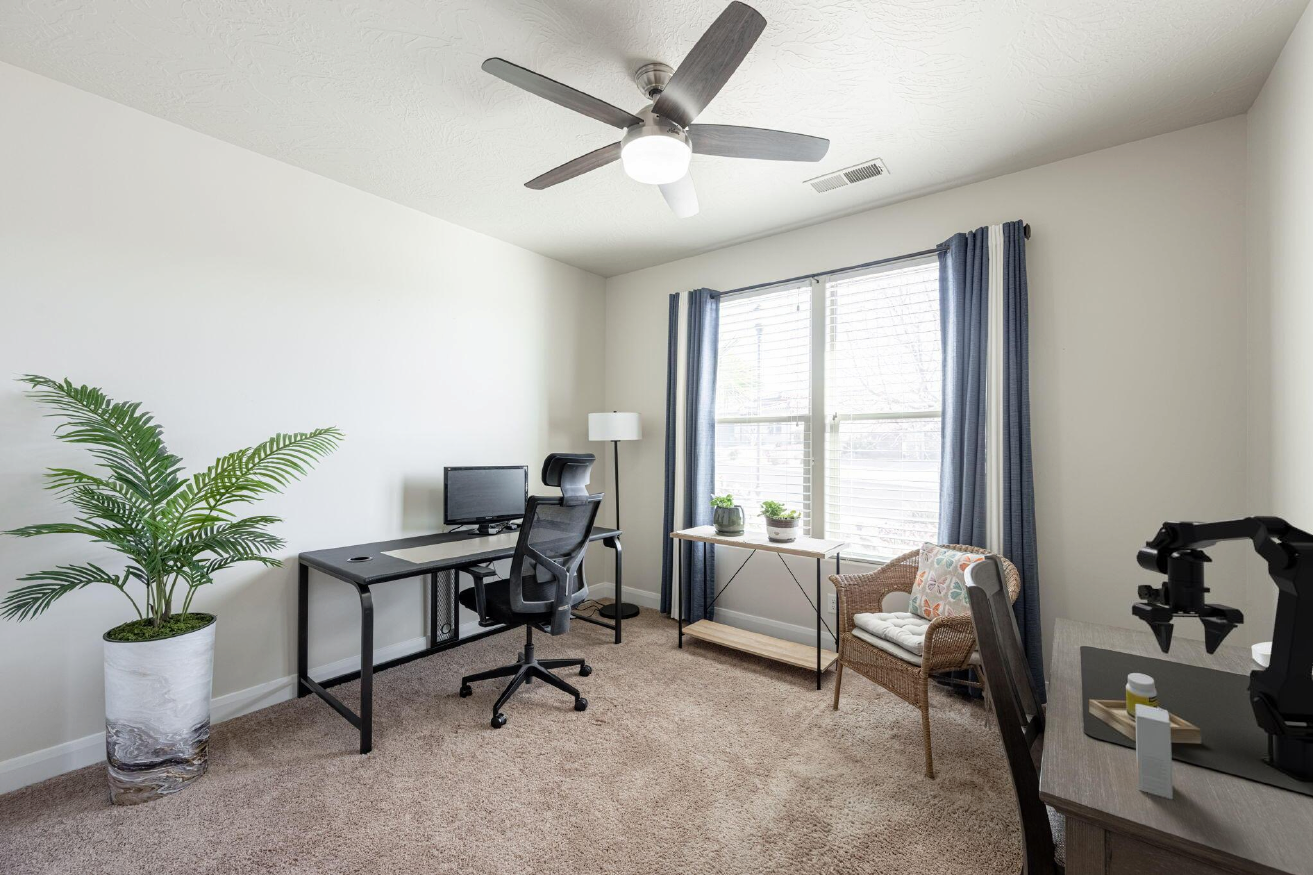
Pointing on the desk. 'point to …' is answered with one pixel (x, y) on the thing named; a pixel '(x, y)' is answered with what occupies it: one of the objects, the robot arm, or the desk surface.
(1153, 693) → the supplement bottle
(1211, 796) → the desk surface
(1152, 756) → the skincare box
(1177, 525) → the robot arm
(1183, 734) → the wooden tray
